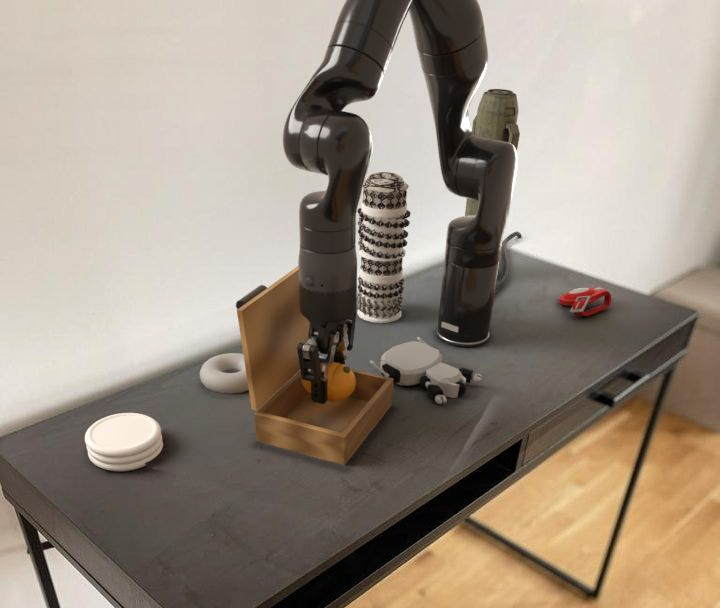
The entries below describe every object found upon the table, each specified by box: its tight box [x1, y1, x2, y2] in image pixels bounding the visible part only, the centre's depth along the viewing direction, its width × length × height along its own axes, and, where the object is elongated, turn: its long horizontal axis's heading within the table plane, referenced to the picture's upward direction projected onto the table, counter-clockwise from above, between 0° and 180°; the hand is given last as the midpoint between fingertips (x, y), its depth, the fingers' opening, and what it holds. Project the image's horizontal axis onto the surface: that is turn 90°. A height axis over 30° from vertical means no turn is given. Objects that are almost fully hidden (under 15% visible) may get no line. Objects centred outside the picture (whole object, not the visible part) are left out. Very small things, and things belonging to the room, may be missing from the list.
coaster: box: [84, 412, 164, 472], centre depth 103 cm, size 10×10×4 cm
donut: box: [199, 352, 249, 395], centre depth 120 cm, size 10×4×10 cm
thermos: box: [464, 88, 521, 276], centre depth 150 cm, size 9×12×35 cm
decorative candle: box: [356, 171, 412, 324], centre depth 136 cm, size 9×9×25 cm
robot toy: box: [369, 336, 483, 405], centre depth 121 cm, size 12×4×15 cm
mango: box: [301, 362, 356, 403], centre depth 107 cm, size 8×5×5 cm, turn 67°
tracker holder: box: [558, 286, 612, 317], centre depth 147 cm, size 12×4×10 cm
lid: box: [235, 265, 310, 412], centre depth 106 cm, size 14×18×5 cm
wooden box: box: [254, 367, 394, 466], centre depth 110 cm, size 14×18×5 cm
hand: (328, 391), depth 108 cm, fingers closed on mango, 5 cm apart
